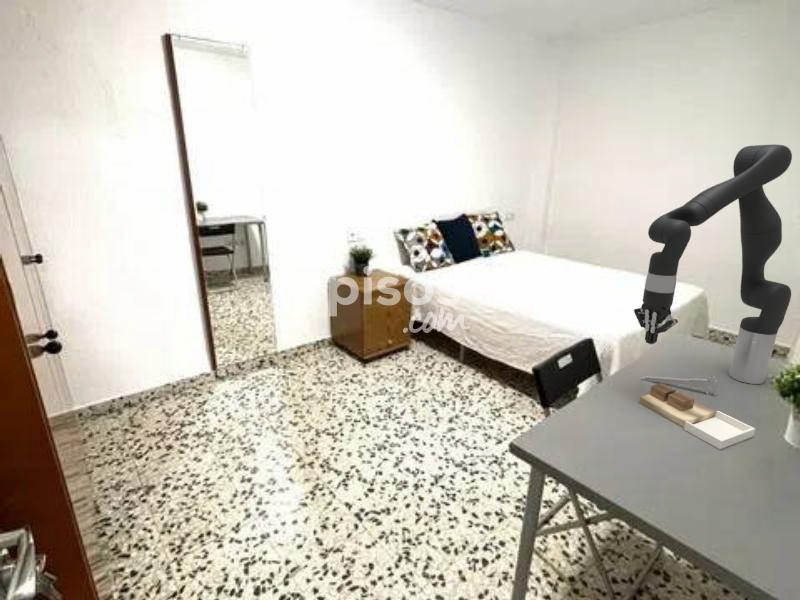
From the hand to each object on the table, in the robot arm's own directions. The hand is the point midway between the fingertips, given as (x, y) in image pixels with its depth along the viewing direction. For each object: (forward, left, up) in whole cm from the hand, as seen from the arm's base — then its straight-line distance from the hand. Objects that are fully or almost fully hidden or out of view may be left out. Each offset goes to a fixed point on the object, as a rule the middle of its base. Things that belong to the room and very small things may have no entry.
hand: (650, 343), depth 125 cm
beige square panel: (0, +11, -17) cm, 20 cm away
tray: (0, +23, -17) cm, 28 cm away
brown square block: (0, +7, -15) cm, 16 cm away
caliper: (-13, +2, -18) cm, 22 cm away
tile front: (0, +12, -15) cm, 19 cm away
